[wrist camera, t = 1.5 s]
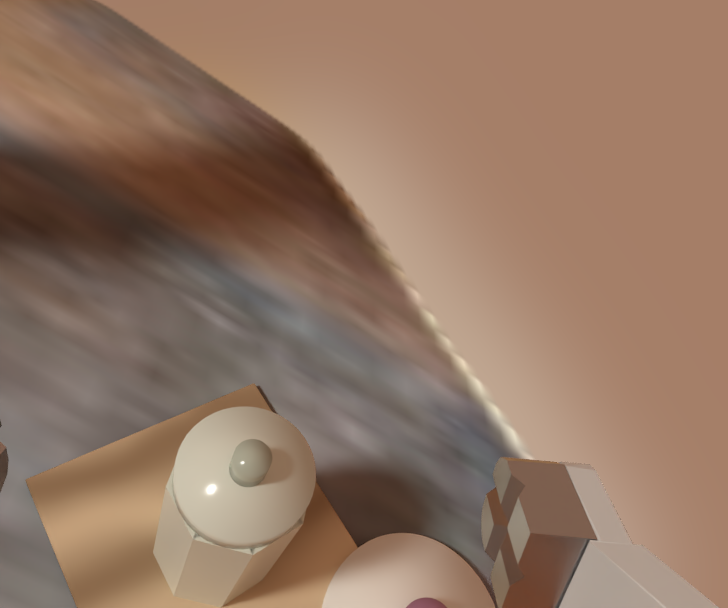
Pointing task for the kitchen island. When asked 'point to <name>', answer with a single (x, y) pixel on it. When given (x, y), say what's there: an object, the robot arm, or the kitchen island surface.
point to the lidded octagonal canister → (232, 503)
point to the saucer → (405, 576)
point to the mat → (141, 518)
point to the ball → (426, 603)
